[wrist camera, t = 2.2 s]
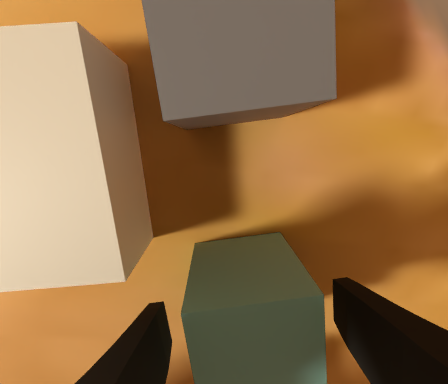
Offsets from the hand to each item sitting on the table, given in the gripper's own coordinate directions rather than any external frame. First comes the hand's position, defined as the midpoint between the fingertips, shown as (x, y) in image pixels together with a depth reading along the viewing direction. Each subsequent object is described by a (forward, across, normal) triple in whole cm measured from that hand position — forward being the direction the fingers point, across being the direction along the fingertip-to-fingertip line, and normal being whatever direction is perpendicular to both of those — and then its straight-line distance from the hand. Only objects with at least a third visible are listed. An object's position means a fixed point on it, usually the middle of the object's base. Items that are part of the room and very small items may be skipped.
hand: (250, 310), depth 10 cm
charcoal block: (+3, 0, -10) cm, 10 cm away
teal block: (+3, 0, 0) cm, 3 cm away
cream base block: (+3, +8, -7) cm, 11 cm away
